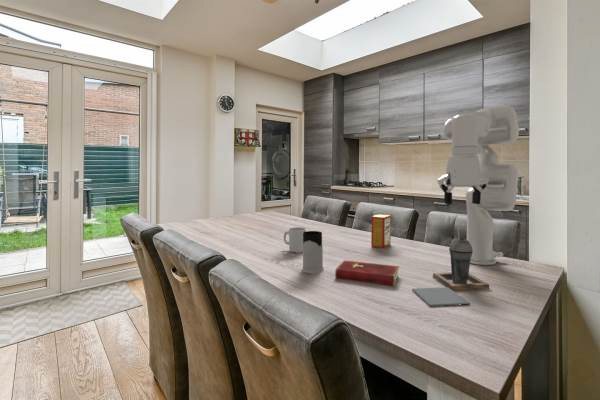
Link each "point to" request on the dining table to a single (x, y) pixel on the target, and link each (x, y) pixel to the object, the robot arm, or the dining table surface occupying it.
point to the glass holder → (312, 252)
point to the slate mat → (439, 296)
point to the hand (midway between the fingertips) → (462, 203)
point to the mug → (295, 239)
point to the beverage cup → (460, 259)
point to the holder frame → (475, 285)
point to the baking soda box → (381, 231)
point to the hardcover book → (367, 272)
